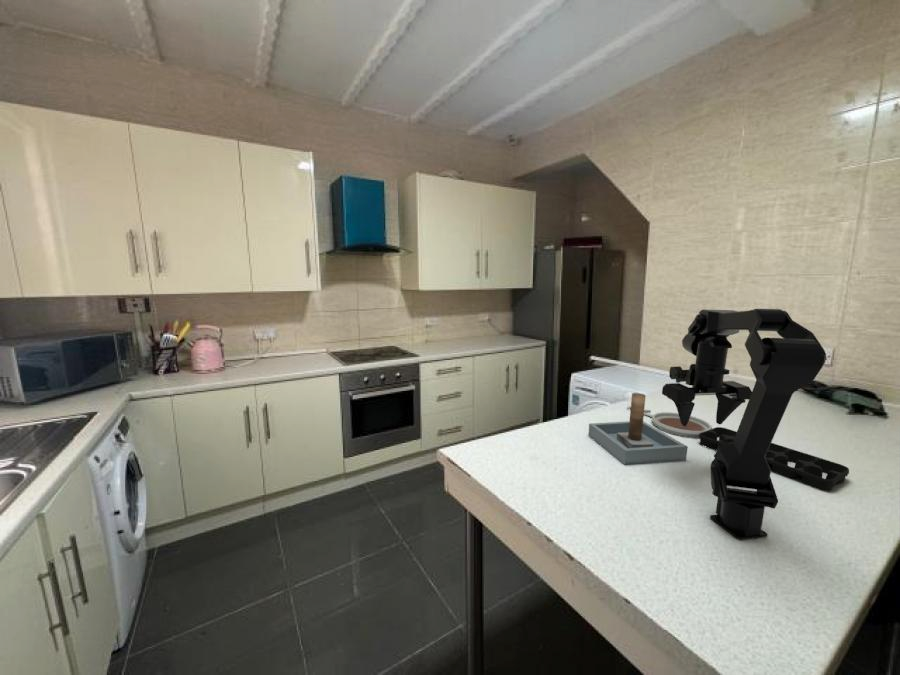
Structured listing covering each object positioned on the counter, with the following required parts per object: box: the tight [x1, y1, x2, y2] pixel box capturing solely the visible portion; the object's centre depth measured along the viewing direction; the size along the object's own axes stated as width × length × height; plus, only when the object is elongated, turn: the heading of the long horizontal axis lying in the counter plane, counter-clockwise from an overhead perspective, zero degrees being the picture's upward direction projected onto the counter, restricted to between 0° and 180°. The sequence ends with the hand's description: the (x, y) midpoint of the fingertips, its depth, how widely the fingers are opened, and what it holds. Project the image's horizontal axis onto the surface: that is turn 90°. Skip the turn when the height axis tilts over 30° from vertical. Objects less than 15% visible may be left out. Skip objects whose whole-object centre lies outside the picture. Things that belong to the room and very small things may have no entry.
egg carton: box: [698, 426, 850, 492], centre depth 96 cm, size 18×30×4 cm, turn 40°
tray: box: [588, 420, 688, 466], centre depth 103 cm, size 18×18×4 cm
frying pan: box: [627, 405, 713, 438], centre depth 122 cm, size 17×3×28 cm
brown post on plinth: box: [617, 392, 653, 448], centre depth 102 cm, size 8×6×15 cm
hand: (701, 424), depth 87 cm, fingers open, 9 cm apart
